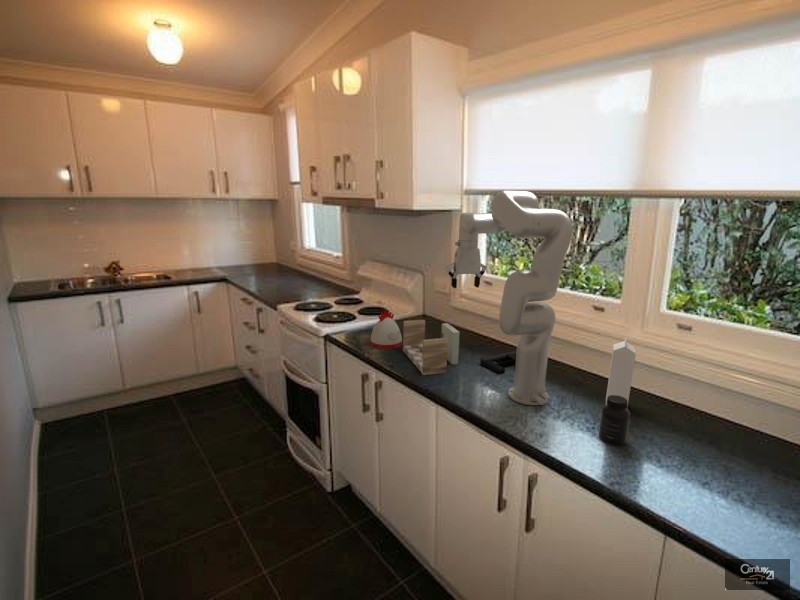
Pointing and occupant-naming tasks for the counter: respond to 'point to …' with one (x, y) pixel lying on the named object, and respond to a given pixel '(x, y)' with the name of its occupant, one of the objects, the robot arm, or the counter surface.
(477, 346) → the counter surface
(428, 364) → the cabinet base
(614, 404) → the supplement bottle
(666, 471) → the counter surface
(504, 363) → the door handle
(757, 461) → the counter surface
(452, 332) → the door panel
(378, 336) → the kitchen timer
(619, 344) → the milk
